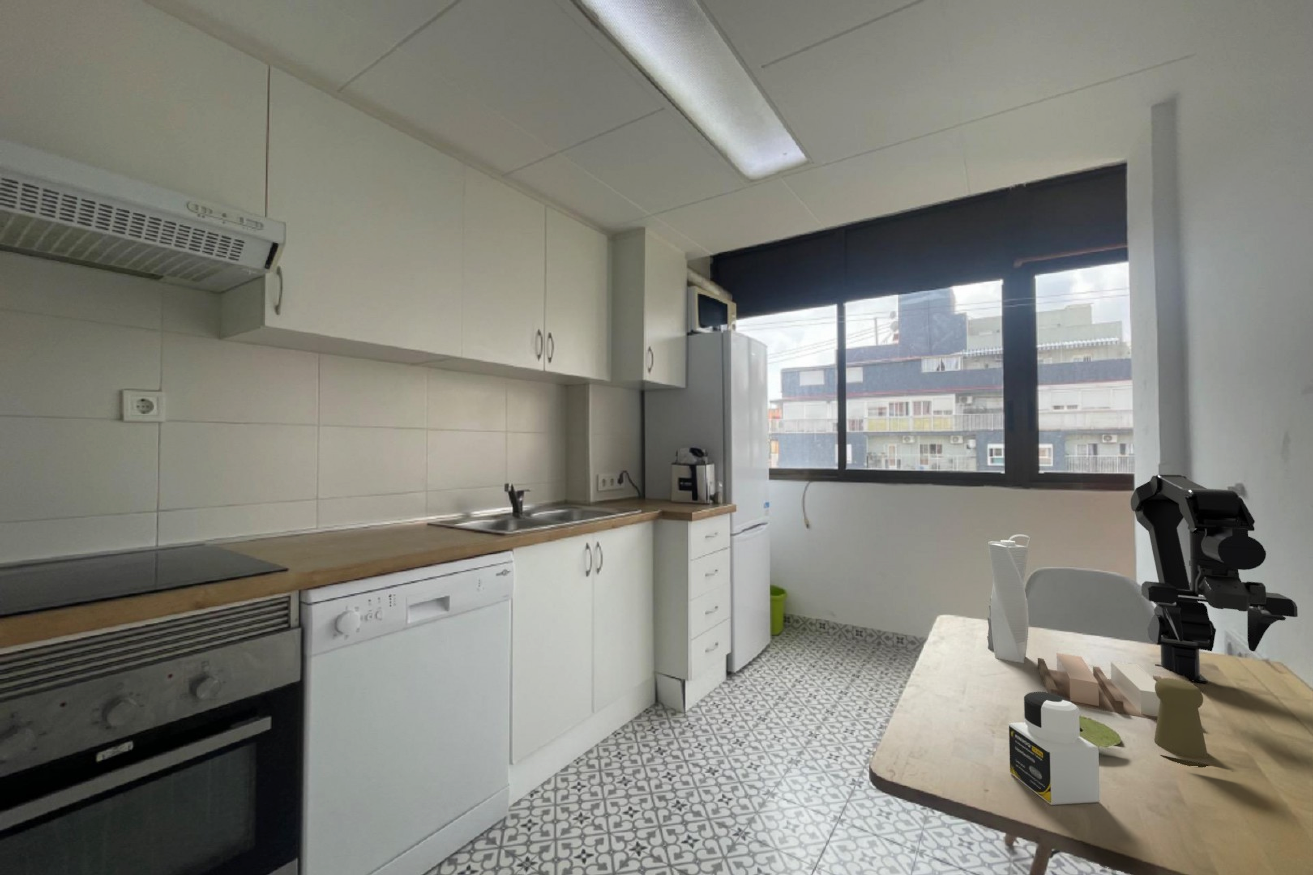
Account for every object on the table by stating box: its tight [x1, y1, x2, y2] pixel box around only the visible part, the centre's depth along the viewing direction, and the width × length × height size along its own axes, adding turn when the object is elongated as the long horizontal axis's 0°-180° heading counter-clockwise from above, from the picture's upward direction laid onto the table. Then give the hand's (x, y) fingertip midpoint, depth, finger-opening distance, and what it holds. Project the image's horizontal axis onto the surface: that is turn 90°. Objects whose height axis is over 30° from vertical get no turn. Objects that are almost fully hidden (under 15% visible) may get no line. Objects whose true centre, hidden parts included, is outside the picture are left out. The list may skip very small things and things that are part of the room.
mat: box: [1079, 714, 1122, 748], centre depth 84 cm, size 11×11×2 cm
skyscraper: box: [986, 534, 1031, 664], centre depth 116 cm, size 8×8×28 cm
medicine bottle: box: [1008, 691, 1101, 806], centre depth 72 cm, size 7×7×12 cm
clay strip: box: [1110, 661, 1160, 717], centre depth 95 cm, size 14×4×4 cm, turn 155°
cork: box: [1153, 677, 1210, 768], centre depth 80 cm, size 6×6×11 cm
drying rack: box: [1037, 657, 1162, 721], centre depth 98 cm, size 17×19×3 cm
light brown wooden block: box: [1056, 652, 1099, 706], centre depth 100 cm, size 14×4×4 cm, turn 151°
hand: (1215, 645), depth 95 cm, fingers open, 9 cm apart
